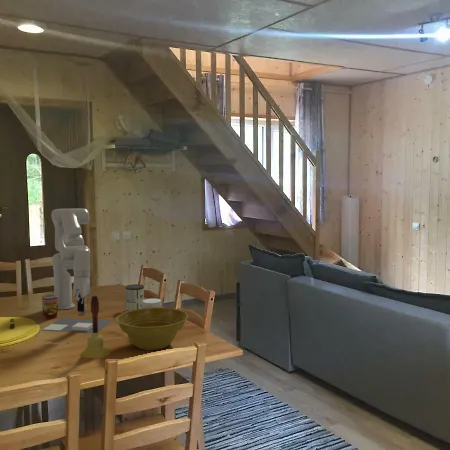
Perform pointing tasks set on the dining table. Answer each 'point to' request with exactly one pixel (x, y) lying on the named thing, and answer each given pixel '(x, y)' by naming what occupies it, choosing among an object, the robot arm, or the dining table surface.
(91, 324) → the tile
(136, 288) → the coffee can
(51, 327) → the pad
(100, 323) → the mat
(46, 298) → the canned food
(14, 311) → the dining table surface
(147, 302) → the supplement tub
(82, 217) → the robot arm
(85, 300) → the tan wooden block
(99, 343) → the handbell
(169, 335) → the planter bowl
